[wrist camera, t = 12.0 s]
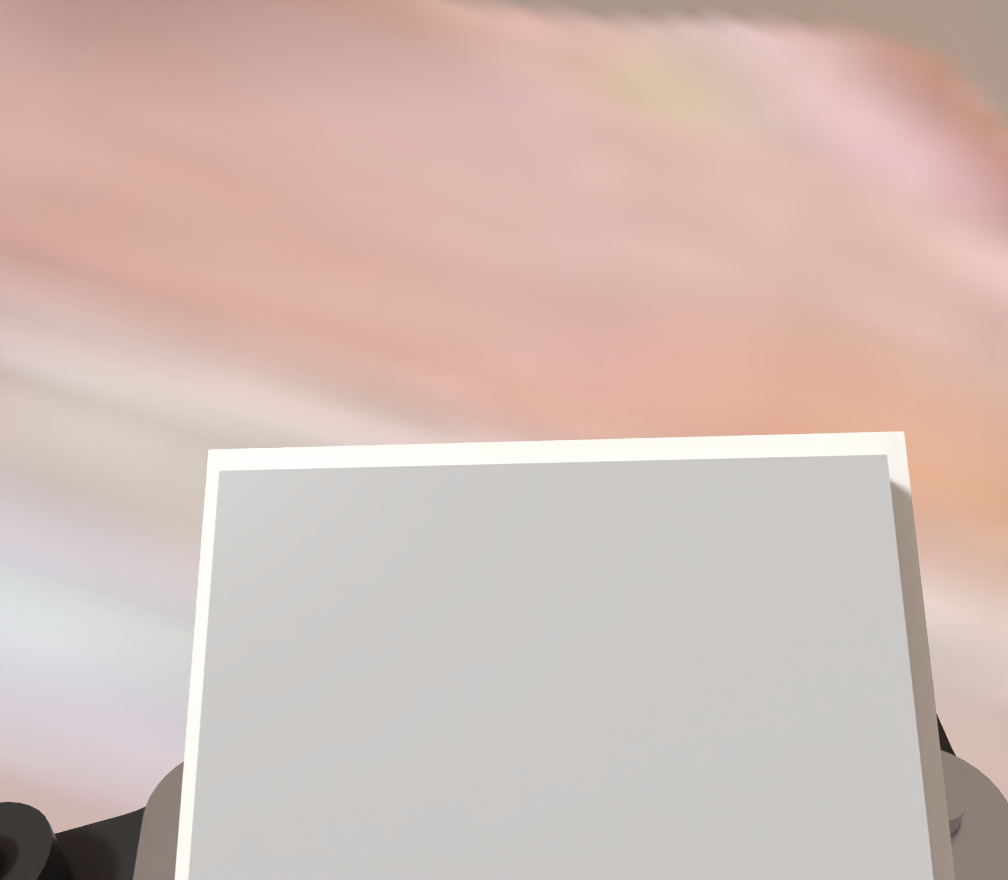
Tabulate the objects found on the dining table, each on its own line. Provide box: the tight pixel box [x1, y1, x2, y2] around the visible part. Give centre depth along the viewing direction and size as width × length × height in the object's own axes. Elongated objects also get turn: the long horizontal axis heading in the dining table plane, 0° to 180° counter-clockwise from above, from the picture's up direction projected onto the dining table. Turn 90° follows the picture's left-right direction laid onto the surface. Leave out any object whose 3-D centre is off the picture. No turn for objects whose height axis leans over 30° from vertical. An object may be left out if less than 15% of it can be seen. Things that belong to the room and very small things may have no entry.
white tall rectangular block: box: [175, 431, 955, 880], centre depth 11 cm, size 4×4×12 cm
